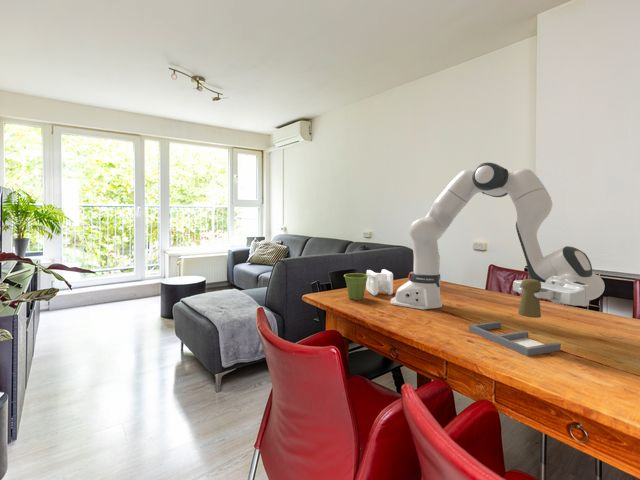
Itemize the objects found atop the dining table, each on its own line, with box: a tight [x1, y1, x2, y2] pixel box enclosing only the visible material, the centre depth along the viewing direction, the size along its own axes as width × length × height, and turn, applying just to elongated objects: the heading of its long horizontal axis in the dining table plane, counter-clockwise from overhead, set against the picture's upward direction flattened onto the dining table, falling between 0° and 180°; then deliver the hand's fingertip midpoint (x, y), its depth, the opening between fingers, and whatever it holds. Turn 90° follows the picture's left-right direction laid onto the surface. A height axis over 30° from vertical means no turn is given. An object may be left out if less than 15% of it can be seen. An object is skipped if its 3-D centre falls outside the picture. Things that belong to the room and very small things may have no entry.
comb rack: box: [468, 320, 562, 357], centre depth 110 cm, size 13×23×2 cm, turn 19°
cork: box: [517, 278, 542, 319], centre depth 104 cm, size 6×6×11 cm
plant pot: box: [343, 272, 368, 301], centre depth 164 cm, size 12×12×11 cm
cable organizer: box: [365, 268, 394, 297], centre depth 174 cm, size 15×11×12 cm
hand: (527, 293), depth 104 cm, fingers closed on cork, 4 cm apart
